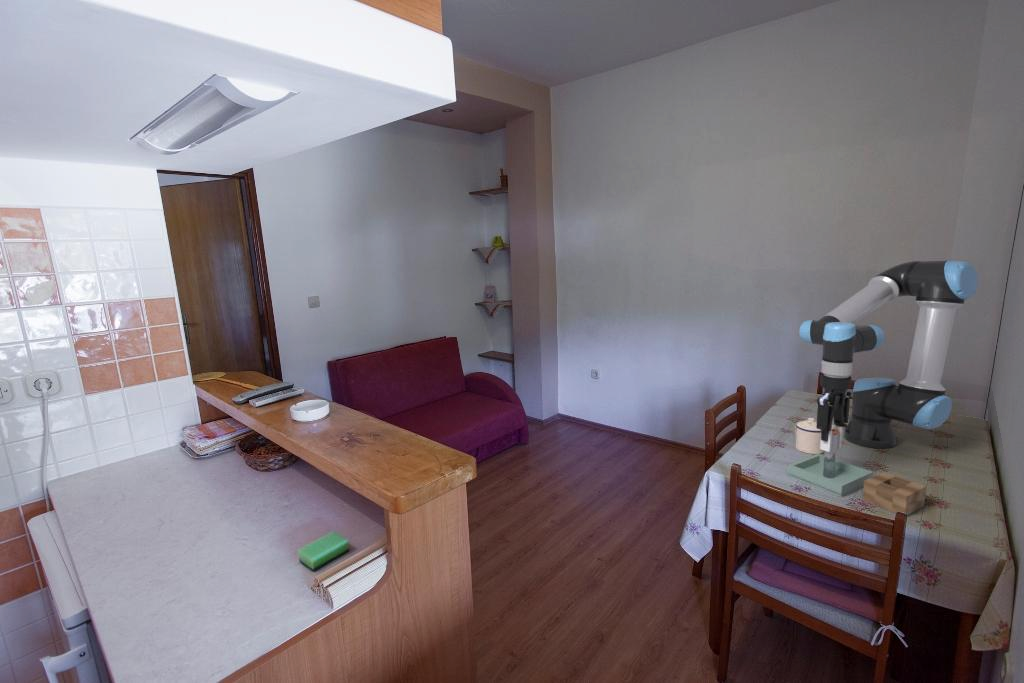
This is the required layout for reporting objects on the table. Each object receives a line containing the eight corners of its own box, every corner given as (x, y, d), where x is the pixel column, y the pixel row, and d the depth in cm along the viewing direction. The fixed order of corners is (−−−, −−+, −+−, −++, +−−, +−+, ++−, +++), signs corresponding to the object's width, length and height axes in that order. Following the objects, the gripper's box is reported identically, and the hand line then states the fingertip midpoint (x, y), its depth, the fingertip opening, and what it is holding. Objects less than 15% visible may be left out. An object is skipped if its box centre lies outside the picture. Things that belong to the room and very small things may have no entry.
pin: (826, 472, 146) (830, 427, 143) (836, 476, 143) (840, 430, 141) (820, 475, 144) (824, 429, 142) (830, 478, 142) (834, 432, 139)
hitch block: (881, 491, 136) (883, 471, 134) (923, 506, 127) (926, 486, 126) (862, 500, 131) (864, 480, 130) (904, 517, 122) (906, 496, 121)
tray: (817, 463, 155) (818, 453, 154) (871, 482, 140) (872, 472, 140) (786, 475, 148) (787, 465, 147) (841, 497, 133) (841, 486, 133)
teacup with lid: (831, 453, 161) (833, 421, 159) (806, 456, 160) (808, 424, 158) (806, 440, 173) (808, 410, 171) (783, 442, 172) (785, 412, 170)
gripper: (840, 367, 145) (834, 437, 149) (805, 376, 137) (800, 450, 142) (867, 372, 138) (860, 445, 143) (831, 382, 131) (826, 459, 135)
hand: (830, 448), depth 142 cm, fingers open, 5 cm apart
